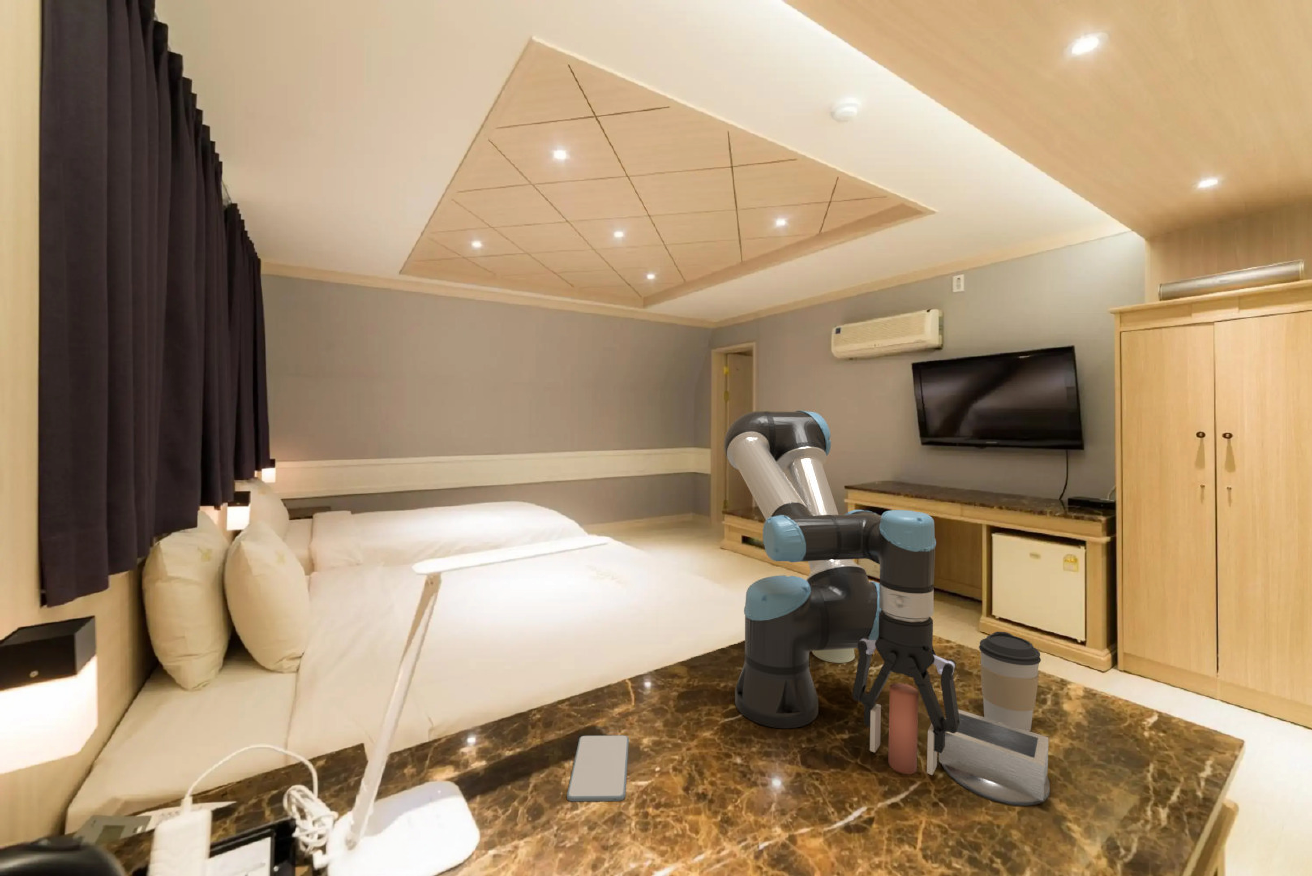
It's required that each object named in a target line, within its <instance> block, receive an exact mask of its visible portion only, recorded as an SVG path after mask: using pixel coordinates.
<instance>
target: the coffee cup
mask: <svg viewBox="0 0 1312 876" xmlns="http://www.w3.org/2000/svg"><path fill="white" fill-rule="evenodd" d="M978 649H979V652H980V661H979V662H980V665H979V666H980V681H981V683H980V684H981V695H982V698H983V715H984V716H983V717H985V718H988V719H991V720H994V721H997V722H1001V723H1004V724H1007V725H1010V726H1013V727H1017V728H1020V729H1023V730H1026V731H1030V732H1031V730H1032V723H1033V722H1032V721H1033V716H1034V715H1033V714H1034V709H1035V706H1036V700H1037V693H1038V685H1039V684H1038V683H1039V675H1040V673H1039V667H1040V663H1041V661H1042V658H1041V653H1040V651H1039V650H1038V649H1037V648H1036V647H1034V645H1033V643H1032V642H1031V641H1028V640H1027V639H1025V638H1023V637H1019V636H1014V635H1013V634H1011V633H1009V632H1006V631H995V632H993V633H992V634H988V635H987V636H986V637H985V638H982V639H981V640H980V641H979V646H978Z"/></svg>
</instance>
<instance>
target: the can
mask: <svg viewBox="0 0 1312 876" xmlns="http://www.w3.org/2000/svg"><path fill="white" fill-rule="evenodd" d="M811 652H812V654H813V655H814V656H815V657H816V658H818V659H819V660H822V661H824V662H829V663H833V664H834V663H835V664H845V663H846V664H847V663H850V662H852V661H853V660H855V657H856V655H855V648H851V649H834V650H817V651H811Z"/></svg>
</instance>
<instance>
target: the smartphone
mask: <svg viewBox="0 0 1312 876" xmlns="http://www.w3.org/2000/svg"><path fill="white" fill-rule="evenodd" d="M629 741H630V739H629V737H628V735H625V734H624V735H621V734H620V735H618V734H617V735H615V734H614V735H605V734H603V735H582V736H580V737H579V738H578V744H577V748H576V752H575V756H574V760H573V761H574V762H573V766H572V769H571V775H570V780H569V782H568V783H569V784H568V788H567V793H566V799H567V800H568V802H621V801H623V800H624V799H625V797H626V791H627V778H628V777H627V775H628V756H629V743H630V742H629Z"/></svg>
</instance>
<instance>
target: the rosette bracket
mask: <svg viewBox="0 0 1312 876" xmlns="http://www.w3.org/2000/svg"><path fill="white" fill-rule="evenodd" d="M958 713H959V720H960V725H959V727H958V729H957V731H956V733H950V732H945V747H944V749H943V751H942V753H939V752H938V762H939V763H940V764H941V766H942V768H943V770H944V771H945V773H946V774H947V775H948V776H949V777H950V778H951V779H953V781H955V782H956V783H957V784H959V785H960V786H962V787H963V788H964V789H966V790H968V791H969V792H971V793H974V795H975V794H976V795H978V796H980V797H982V798H984V799H987V800H991V801H992V802H996V803H1000V804H1004V805H1009V806H1014V807H1015V806H1017V807H1018V806H1019V807H1031V806H1036V805H1040V804H1042V803H1044V802H1045V801H1046V800H1047V799H1048V798H1049V797H1050V789H1051V788H1050V787H1051V786H1050V785H1051V784H1050V783H1051V782H1050V780H1049V777H1048V766H1049V765H1048V763H1049V736H1045V735H1042V734H1039V733H1035V732H1032V731H1031V730H1030V731H1026V730H1023V729H1020V728H1017V727H1013V726H1010V725H1007V724H1004V723H1001V722H997V721H994V720H991V719H988V718H985V717H984V716H981V715H977V714H975V713H972V712H968V711H965V710H962V709H959V708H958Z"/></svg>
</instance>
